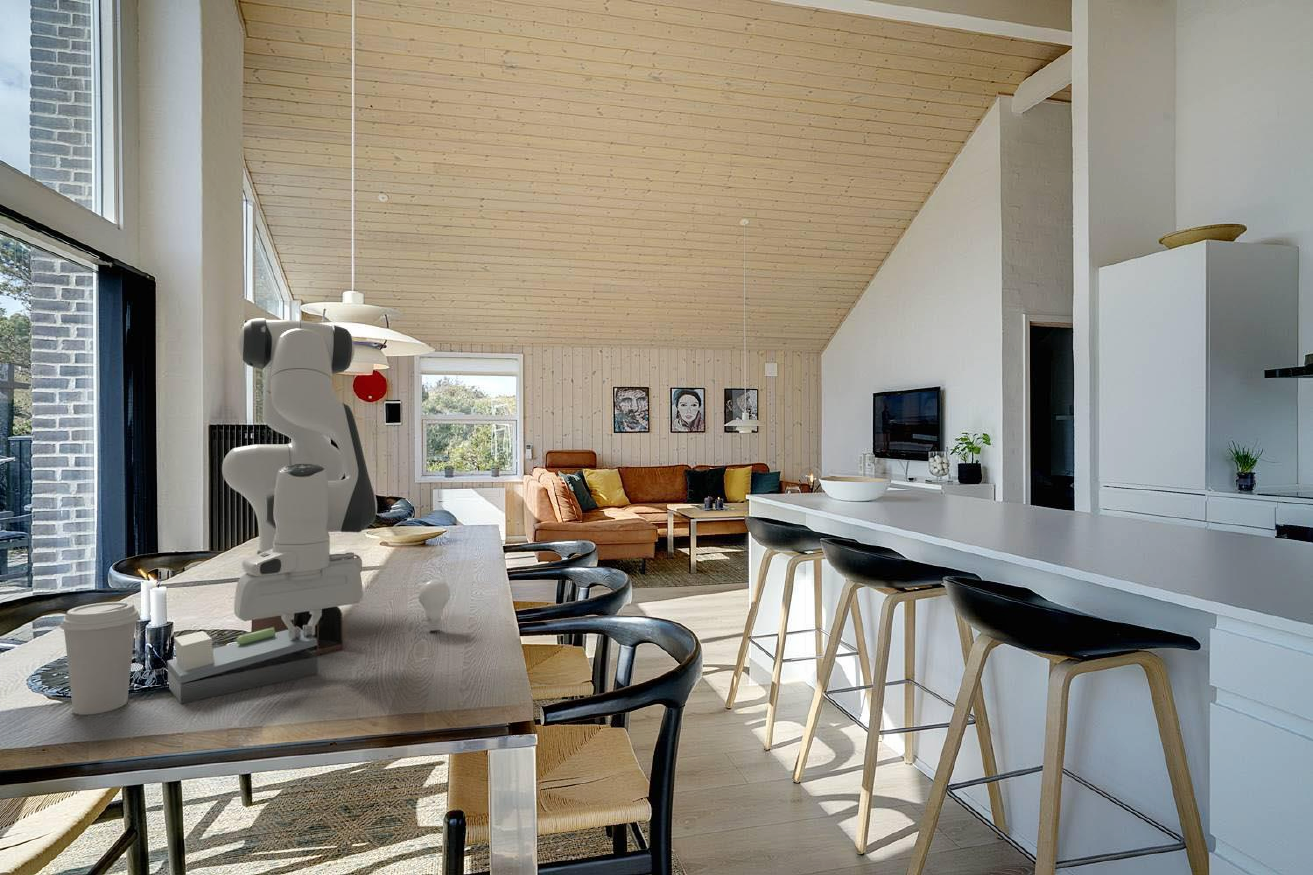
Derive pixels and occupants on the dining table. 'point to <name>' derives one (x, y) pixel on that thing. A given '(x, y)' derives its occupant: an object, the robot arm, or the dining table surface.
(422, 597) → the lightbulb
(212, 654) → the tilted grey plate
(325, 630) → the letter holder
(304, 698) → the dining table surface
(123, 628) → the coffee cup
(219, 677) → the base
